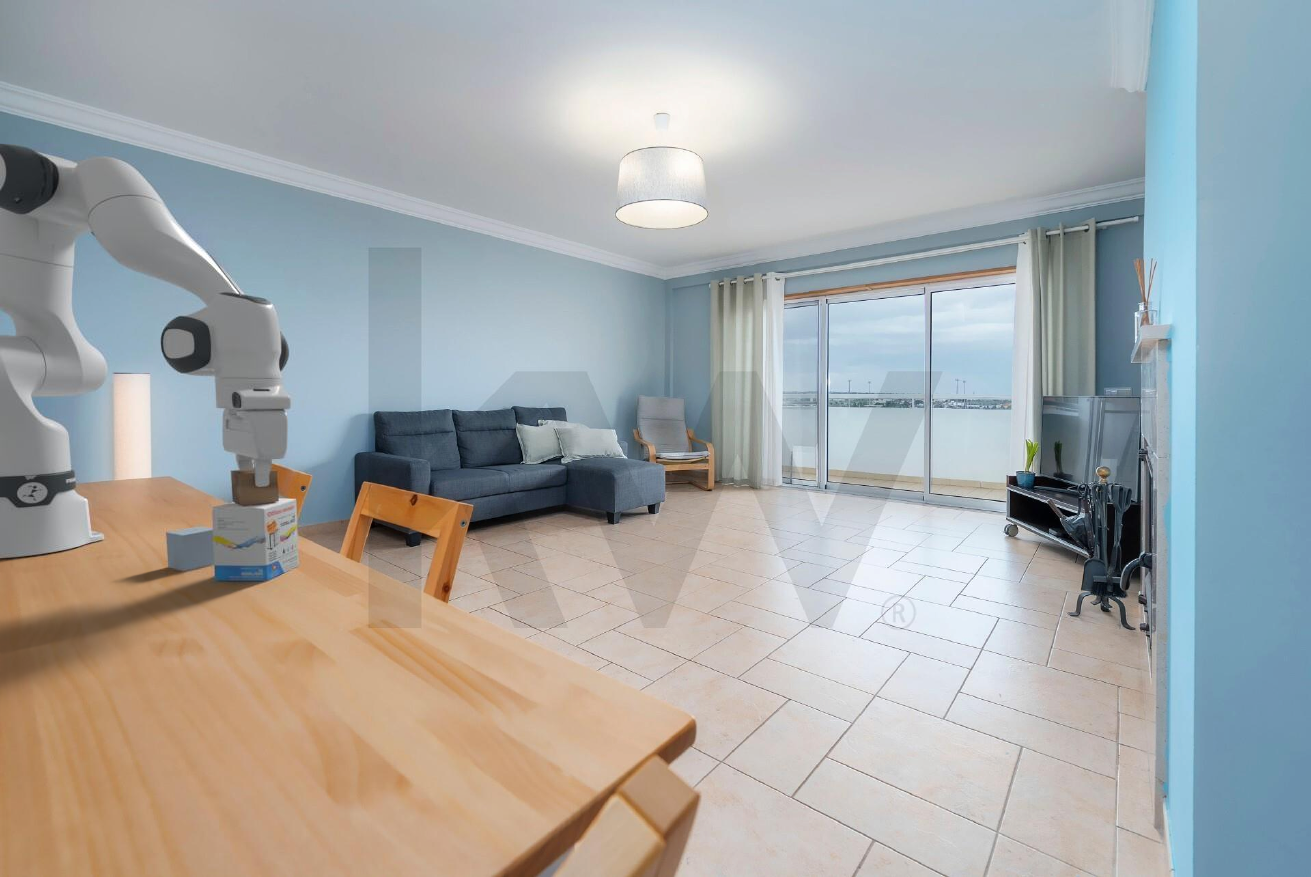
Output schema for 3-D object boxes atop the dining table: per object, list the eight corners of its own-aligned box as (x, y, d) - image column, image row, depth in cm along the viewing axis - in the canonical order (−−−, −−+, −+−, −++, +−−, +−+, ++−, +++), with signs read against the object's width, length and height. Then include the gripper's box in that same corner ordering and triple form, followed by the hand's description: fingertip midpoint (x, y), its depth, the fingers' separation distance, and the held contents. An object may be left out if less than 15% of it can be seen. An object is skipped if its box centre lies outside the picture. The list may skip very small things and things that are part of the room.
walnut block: (232, 501, 95) (230, 470, 94) (268, 497, 99) (266, 467, 98) (242, 506, 92) (240, 474, 91) (278, 501, 96) (277, 470, 95)
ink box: (267, 582, 92) (263, 507, 91) (213, 581, 92) (209, 506, 91) (301, 565, 100) (298, 497, 99) (251, 565, 100) (248, 496, 99)
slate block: (168, 567, 99) (166, 532, 98) (201, 559, 103) (199, 526, 103) (184, 571, 97) (182, 535, 96) (218, 563, 101) (216, 529, 101)
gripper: (209, 396, 98) (213, 479, 99) (245, 397, 85) (250, 493, 86) (253, 396, 103) (257, 475, 104) (295, 397, 90) (298, 488, 91)
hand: (254, 483), depth 95 cm, fingers open, 6 cm apart
